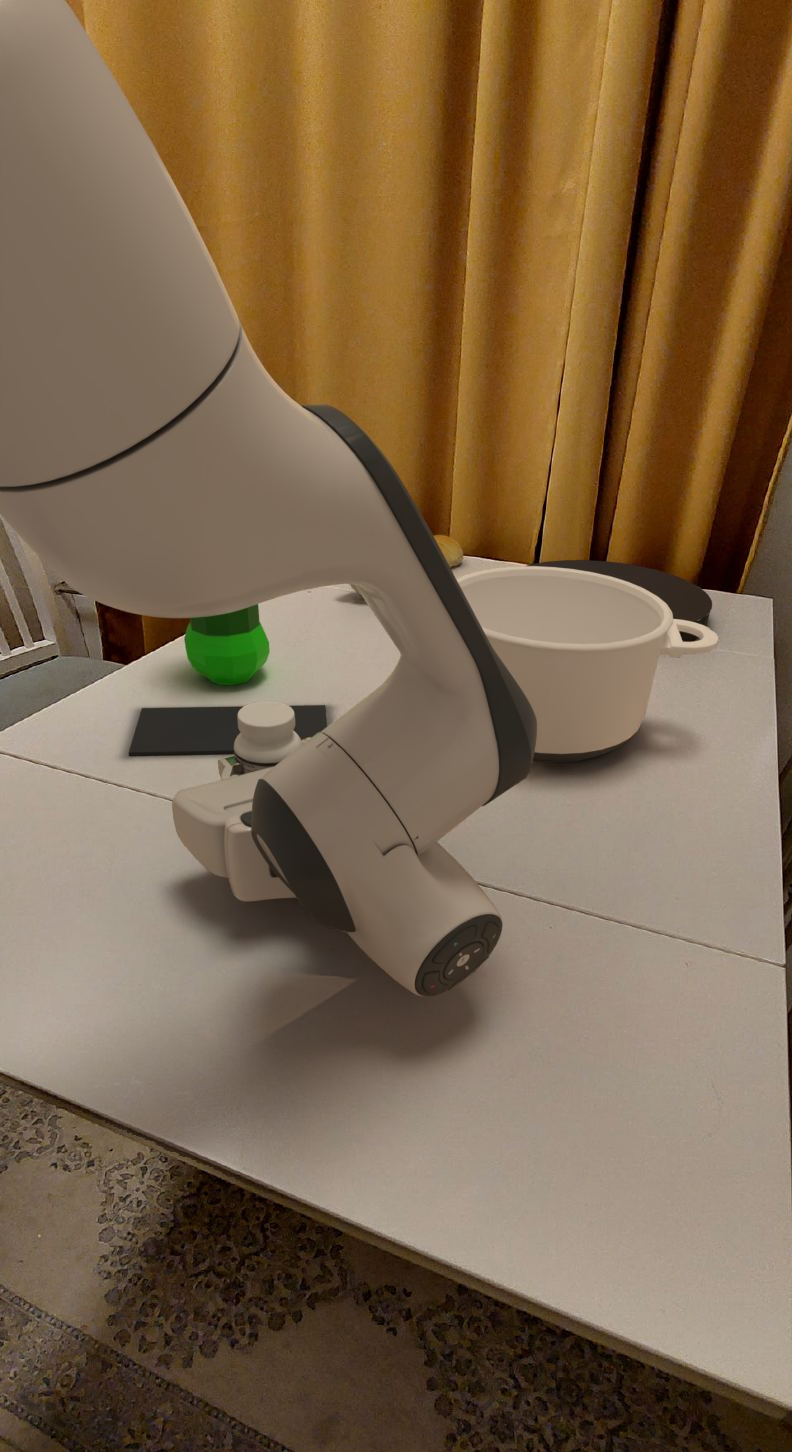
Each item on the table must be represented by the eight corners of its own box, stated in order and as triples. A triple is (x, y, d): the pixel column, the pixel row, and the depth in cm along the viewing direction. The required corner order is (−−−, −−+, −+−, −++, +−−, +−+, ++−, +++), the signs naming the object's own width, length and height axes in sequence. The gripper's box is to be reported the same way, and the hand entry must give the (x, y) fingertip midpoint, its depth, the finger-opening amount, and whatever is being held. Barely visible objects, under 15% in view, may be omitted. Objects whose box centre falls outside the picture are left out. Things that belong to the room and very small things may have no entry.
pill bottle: (278, 791, 78) (272, 691, 72) (318, 816, 75) (315, 714, 69) (227, 812, 74) (216, 710, 68) (266, 840, 71) (259, 735, 65)
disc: (494, 642, 111) (496, 619, 109) (498, 572, 134) (500, 553, 133) (725, 659, 108) (732, 637, 107) (688, 585, 132) (693, 566, 130)
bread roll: (397, 562, 137) (398, 536, 135) (436, 552, 142) (437, 527, 140) (432, 574, 132) (434, 548, 130) (471, 564, 137) (473, 538, 135)
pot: (675, 692, 100) (705, 576, 92) (707, 794, 81) (748, 660, 73) (400, 669, 103) (404, 554, 94) (371, 762, 84) (373, 630, 76)
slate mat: (128, 755, 84) (128, 752, 83) (142, 711, 91) (141, 707, 91) (329, 751, 86) (329, 748, 85) (325, 708, 94) (325, 704, 93)
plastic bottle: (169, 685, 97) (135, 446, 82) (215, 653, 105) (192, 429, 90) (246, 701, 94) (226, 457, 79) (287, 666, 102) (276, 439, 87)
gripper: (458, 765, 65) (369, 697, 74) (209, 836, 56) (143, 749, 66) (452, 832, 69) (368, 760, 78) (218, 909, 60) (155, 817, 69)
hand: (264, 755), depth 72 cm, fingers closed on pill bottle, 6 cm apart
